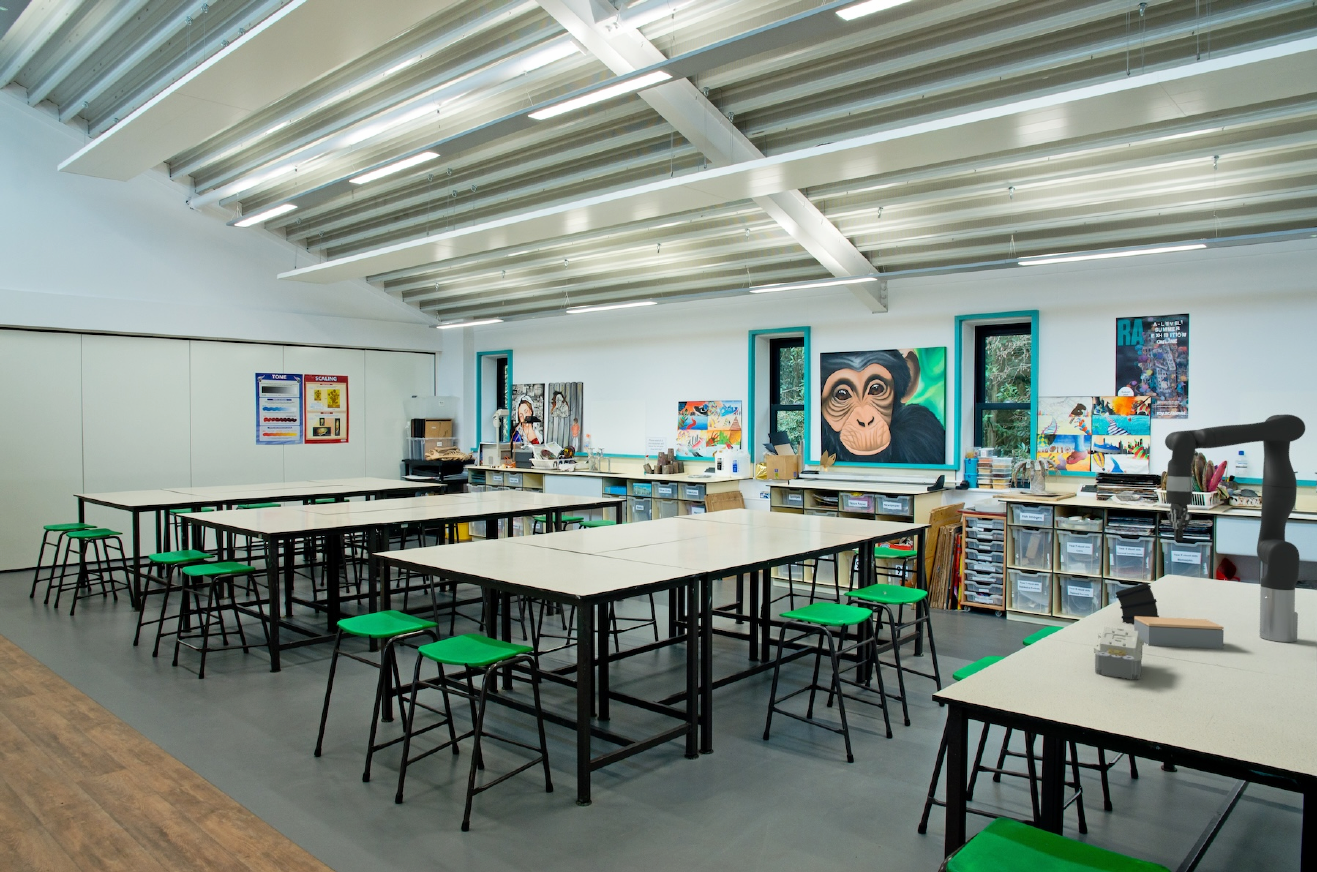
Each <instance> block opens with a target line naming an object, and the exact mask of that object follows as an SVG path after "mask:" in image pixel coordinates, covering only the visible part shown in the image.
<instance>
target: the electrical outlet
mask: <svg viewBox="0 0 1317 872" xmlns="http://www.w3.org/2000/svg"><path fill="white" fill-rule="evenodd" d="M1138 634H1139V632H1138V631H1134V629H1127V628H1124V629H1123V628H1120V627H1119V628H1117V627H1110V626H1109V627H1108V626H1104V628H1103V631H1102V632H1101V633H1099V634H1098V636H1097V637H1098V640H1097V642H1096V646H1095V647H1094V648H1093V653H1094V654H1095V655H1094V657H1095V658H1094V673H1095V674H1100V675H1102V676H1105V675H1106V676H1107V677H1114V678H1118V677H1123V678H1122V679H1125V678H1127V679H1126V680H1131V679H1132V680H1137V679H1139V680H1140V675H1141V673H1142V661H1143V646H1144V645H1145V643H1144V640H1143V639H1141V638H1138ZM1133 678H1135V679H1133Z"/></svg>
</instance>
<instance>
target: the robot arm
mask: <svg viewBox="0 0 1317 872" xmlns="http://www.w3.org/2000/svg"><path fill="white" fill-rule="evenodd" d="M1305 432H1306V424H1305V422H1304V421H1303V420H1302V418H1300V417H1299V416H1297V415H1292V414H1285V413H1284V414H1275V415H1271V416H1269V417H1267V418H1266V419H1265V421H1262V422H1261V421H1260V422H1255V423H1245V424H1244V423H1243V424H1230V425H1229V424H1228V425H1218V426H1212V427H1205V428H1204V427H1203V428H1200V429H1191V430H1189V429H1188V430H1178V431H1173V432H1171V433H1169V434H1167V436H1165V440H1164V445H1165V446H1166V448H1167V449H1169V451H1171V452H1172V453H1171V459H1169V460H1168V462H1167V477H1166V491H1165V492H1166V493H1165V495H1166V496H1165V501H1166V503H1167V504H1170V508H1169V509H1170V510H1169V511H1168V510H1167V511H1166V516H1167V518H1168V521H1169V525H1170V527H1172V529H1173V539H1174V540H1175V541H1183V540H1184V530H1185V529H1187V528H1188V526H1189V524H1190V522H1191V519H1192V514H1189V509H1188V505H1191V504H1193V478H1192V477H1193V474H1192V473H1193V460H1194V458H1195V453H1196V450H1197V449H1217V448H1221V447H1222V448H1224V447H1229V446H1235V445H1236V446H1237V445H1243V444H1248V443H1257V442H1258V443H1259V442H1263V445H1262V446H1263V467H1262V469H1263V470H1262V482H1261V508H1260V509H1261V514H1260V518H1261V519H1260V525H1259V526H1260V528H1259V534H1258V538H1257V539H1258V541H1257V545H1256V555H1257V557H1258V559H1259V560H1260V562H1262V563H1263V564H1264V565H1267V569H1266V574H1265V575H1264V576H1262V577H1261V578H1260V589H1259V591H1260V592H1259V593H1260V595H1259V596H1260V597H1259V600H1260V604H1259V606H1260V607H1259V638H1261V639H1265V640H1268V641H1272V642H1273V641H1274V642H1281V643H1283V642H1284V643H1292V642H1298V626H1299V625H1298V623H1299V620H1298V618H1299V614H1298V612H1296V611H1295V610H1296V609H1295V608H1296V585H1297V583H1298V580H1299V575H1300V574H1299V572H1300V561H1301V559H1300V553H1299V550H1298V547H1297V546H1296V545H1295V544H1293V543H1292V542H1290V541H1286V526H1287V522H1288V519H1289V517H1290V516H1291V514H1292V512H1293V510H1294V507H1295V505H1296V501H1297V487H1298V486H1297V484H1298V483H1297V478H1296V474H1295V471H1294V468H1293V465H1292V463H1291V458H1290V445H1291V442H1294V441H1298V440H1299V439H1300V438H1301V437H1303V435H1304V434H1305Z"/></svg>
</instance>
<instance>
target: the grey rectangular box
mask: <svg viewBox="0 0 1317 872" xmlns="http://www.w3.org/2000/svg"><path fill="white" fill-rule="evenodd" d="M1133 626H1134V629H1133V630H1134V631H1138V632H1139V634H1138V638H1141V639H1143V640H1144V644H1146V645H1147V644H1148V646H1153V645H1154V647H1155V646H1156V647H1160V646H1161V647H1175V648H1176V647H1177V648H1178V647H1179V648H1194V649H1195V648H1198V649H1199V648H1200V649H1215V650H1216V649H1217V650H1219V649H1221V650H1224V636H1225V635H1224V631H1225V630H1224V629H1204V628H1182V627H1159V626H1148V625H1146V624H1144V623H1142V622H1140V621H1138V620H1136V619H1134V624H1133Z"/></svg>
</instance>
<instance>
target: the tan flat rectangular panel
mask: <svg viewBox="0 0 1317 872" xmlns="http://www.w3.org/2000/svg"><path fill="white" fill-rule="evenodd" d="M1134 619H1136V620H1138V621H1140V622H1142V623H1144V624H1146V625H1148V626H1159V627H1182V628H1204V629H1222V630H1224V629H1225V626H1223V625H1220V624H1218V623H1215V622H1213V621H1211V620H1208V619H1203V618H1187V617H1185V618H1181V617H1161V616H1159V617H1140V616H1134Z"/></svg>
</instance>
